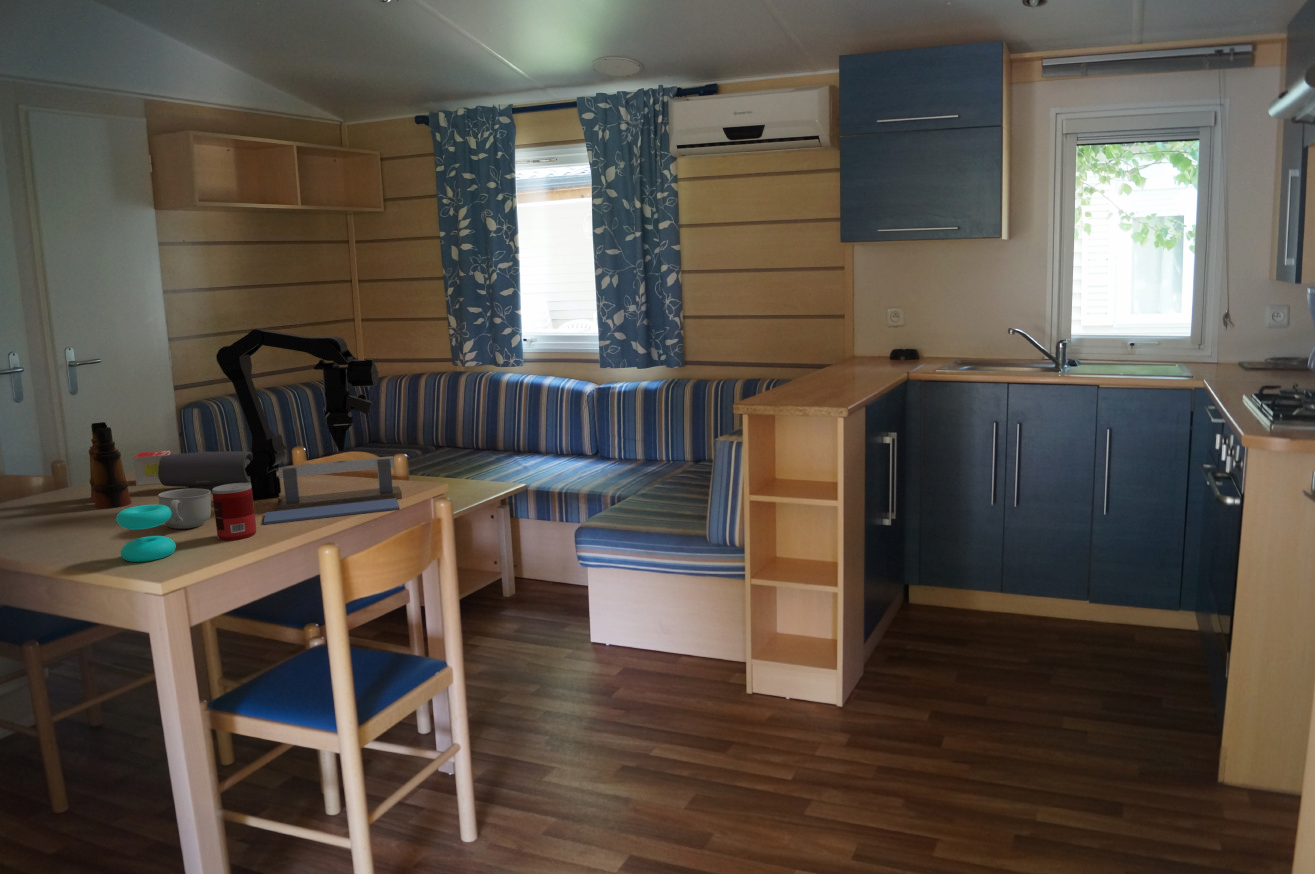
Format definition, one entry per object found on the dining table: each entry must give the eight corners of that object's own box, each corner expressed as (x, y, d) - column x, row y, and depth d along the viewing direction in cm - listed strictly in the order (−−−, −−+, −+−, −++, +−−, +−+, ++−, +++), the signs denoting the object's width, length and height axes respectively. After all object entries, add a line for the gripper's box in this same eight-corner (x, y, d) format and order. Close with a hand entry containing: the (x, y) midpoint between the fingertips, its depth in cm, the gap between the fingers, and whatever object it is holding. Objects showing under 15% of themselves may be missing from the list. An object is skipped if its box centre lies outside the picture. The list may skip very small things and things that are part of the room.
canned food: (264, 532, 216) (259, 483, 214) (238, 541, 208) (232, 491, 207) (236, 530, 218) (230, 482, 216) (209, 540, 211) (203, 490, 209)
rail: (279, 478, 236) (278, 468, 236) (279, 476, 238) (278, 466, 238) (394, 467, 245) (393, 457, 244) (393, 465, 247) (393, 456, 246)
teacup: (177, 520, 230) (173, 487, 228) (222, 519, 229) (218, 485, 228) (145, 536, 216) (140, 501, 215) (193, 535, 216) (188, 499, 214)
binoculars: (89, 498, 258) (79, 423, 255) (124, 493, 263) (114, 419, 260) (96, 510, 243) (85, 431, 240) (133, 505, 248) (123, 427, 245)
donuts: (181, 503, 202) (147, 515, 192) (187, 549, 204) (153, 564, 194) (139, 502, 204) (103, 514, 194) (145, 549, 206) (110, 563, 196)
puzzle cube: (136, 485, 273) (132, 457, 272) (143, 479, 281) (140, 452, 279) (167, 483, 275) (163, 455, 274) (174, 477, 282) (170, 450, 281)
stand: (277, 511, 234) (273, 472, 233) (278, 504, 242) (274, 466, 240) (402, 498, 243) (398, 460, 242) (399, 491, 251) (396, 455, 249)
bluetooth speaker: (258, 482, 270) (254, 447, 268) (245, 490, 261) (241, 453, 259) (175, 486, 269) (171, 450, 268) (159, 494, 260) (154, 457, 258)
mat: (263, 524, 222) (263, 522, 222) (265, 514, 232) (265, 512, 232) (399, 509, 232) (399, 506, 232) (396, 500, 241) (396, 498, 241)
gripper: (371, 389, 241) (376, 451, 244) (365, 381, 258) (370, 439, 261) (324, 391, 237) (329, 455, 240) (321, 383, 255) (326, 443, 257)
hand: (340, 447), depth 250 cm, fingers open, 9 cm apart
